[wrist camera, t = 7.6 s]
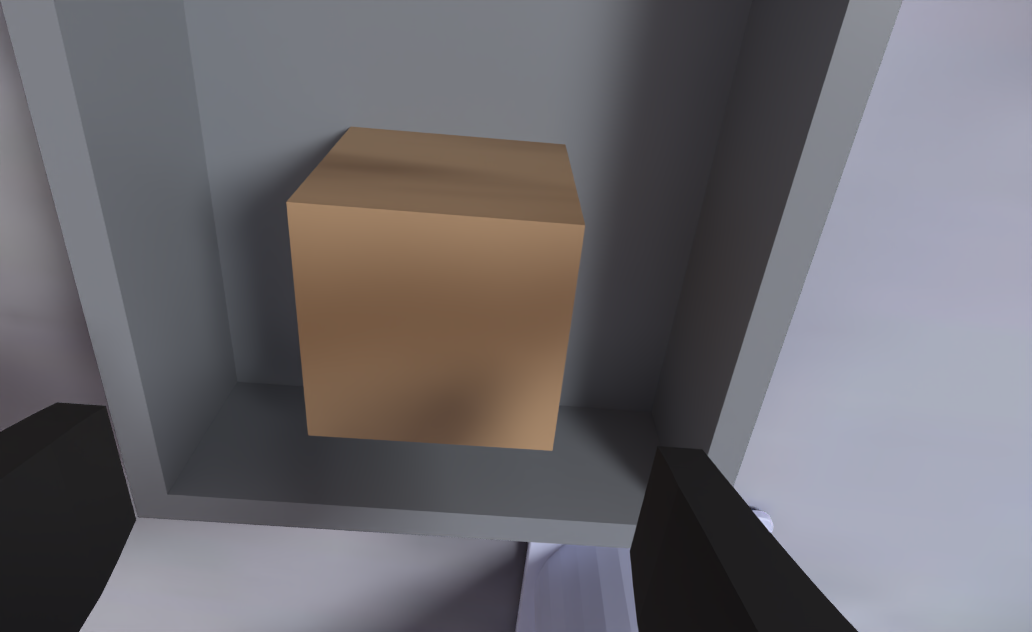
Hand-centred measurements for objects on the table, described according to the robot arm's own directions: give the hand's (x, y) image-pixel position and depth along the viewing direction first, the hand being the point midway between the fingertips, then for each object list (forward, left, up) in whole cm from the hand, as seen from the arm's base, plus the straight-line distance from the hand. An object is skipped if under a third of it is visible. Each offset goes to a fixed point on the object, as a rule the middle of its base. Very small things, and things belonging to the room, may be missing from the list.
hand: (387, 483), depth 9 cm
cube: (0, 0, -9) cm, 9 cm away
